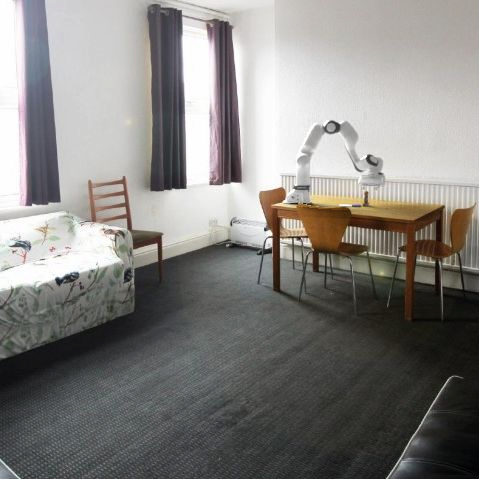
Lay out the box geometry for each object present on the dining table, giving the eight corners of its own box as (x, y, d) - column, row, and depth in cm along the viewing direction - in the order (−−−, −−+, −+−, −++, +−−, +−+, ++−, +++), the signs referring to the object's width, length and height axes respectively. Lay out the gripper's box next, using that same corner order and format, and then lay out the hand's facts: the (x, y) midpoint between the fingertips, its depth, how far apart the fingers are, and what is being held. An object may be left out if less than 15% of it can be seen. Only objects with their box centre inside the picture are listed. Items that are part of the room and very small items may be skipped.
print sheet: (338, 206, 433) (338, 205, 433) (340, 204, 441) (340, 204, 441) (351, 206, 430) (351, 206, 430) (352, 204, 439) (352, 204, 439)
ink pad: (351, 206, 430) (351, 205, 429) (352, 205, 437) (352, 203, 437) (359, 206, 428) (359, 205, 428) (360, 205, 436) (360, 203, 435)
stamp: (362, 206, 431) (363, 191, 429) (363, 205, 435) (363, 190, 433) (368, 206, 430) (369, 191, 428) (369, 205, 434) (369, 190, 432)
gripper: (359, 172, 445) (355, 186, 439) (385, 173, 435) (381, 187, 429) (361, 177, 450) (357, 191, 444) (387, 178, 440) (383, 192, 433)
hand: (369, 189), depth 436 cm, fingers open, 8 cm apart
